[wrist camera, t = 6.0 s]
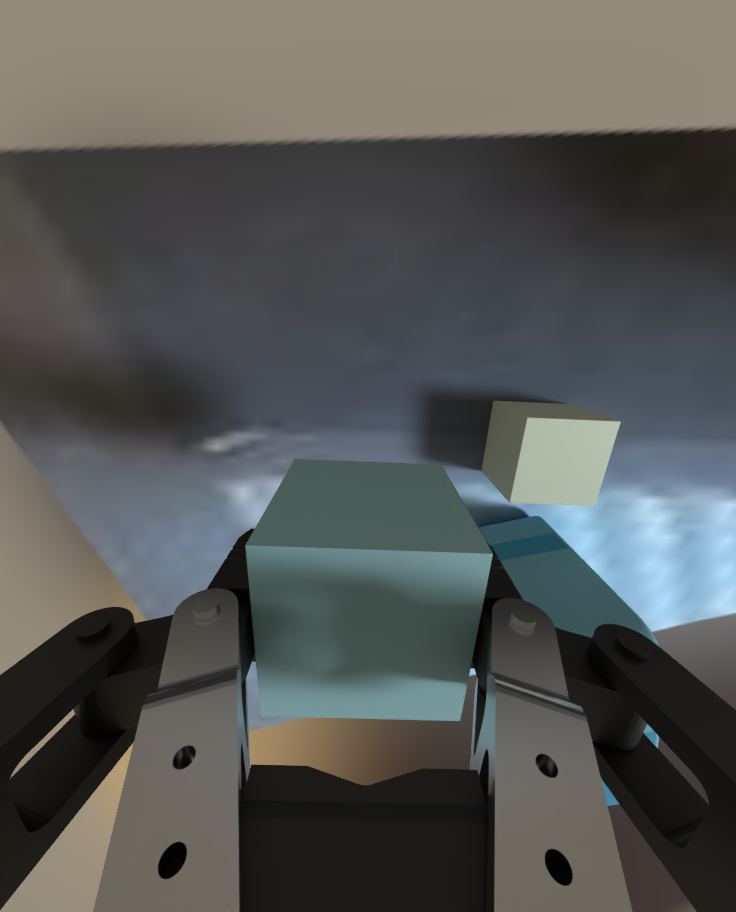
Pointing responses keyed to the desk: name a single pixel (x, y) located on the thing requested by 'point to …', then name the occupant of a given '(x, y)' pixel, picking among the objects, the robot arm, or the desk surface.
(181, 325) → the desk surface
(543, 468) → the sage block
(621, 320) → the desk surface
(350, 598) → the teal block
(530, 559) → the data package
